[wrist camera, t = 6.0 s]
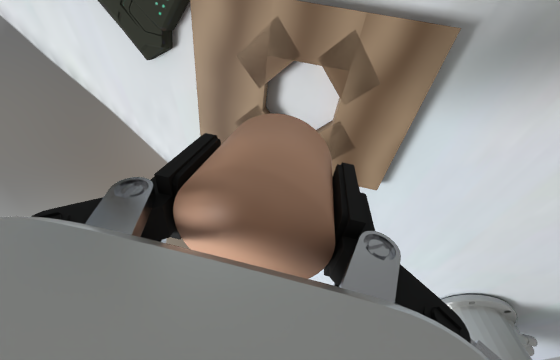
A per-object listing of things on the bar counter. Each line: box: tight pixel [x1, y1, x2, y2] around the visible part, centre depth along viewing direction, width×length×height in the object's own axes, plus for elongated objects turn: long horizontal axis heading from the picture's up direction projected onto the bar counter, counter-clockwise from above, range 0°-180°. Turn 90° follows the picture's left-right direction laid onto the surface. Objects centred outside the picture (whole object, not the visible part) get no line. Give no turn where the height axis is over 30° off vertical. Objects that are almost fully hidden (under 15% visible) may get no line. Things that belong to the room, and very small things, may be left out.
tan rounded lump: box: [173, 114, 335, 279], centre depth 10 cm, size 6×6×5 cm
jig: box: [190, 0, 461, 190], centre depth 22 cm, size 22×16×2 cm
